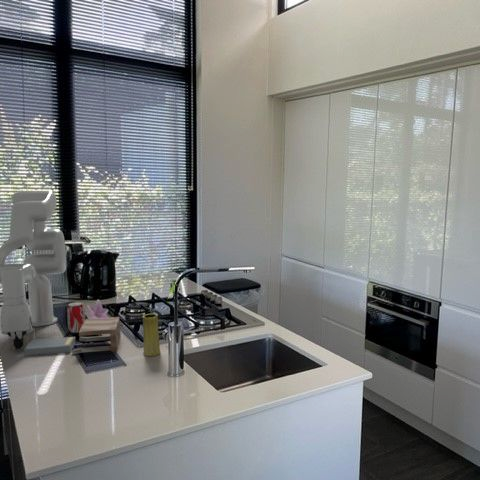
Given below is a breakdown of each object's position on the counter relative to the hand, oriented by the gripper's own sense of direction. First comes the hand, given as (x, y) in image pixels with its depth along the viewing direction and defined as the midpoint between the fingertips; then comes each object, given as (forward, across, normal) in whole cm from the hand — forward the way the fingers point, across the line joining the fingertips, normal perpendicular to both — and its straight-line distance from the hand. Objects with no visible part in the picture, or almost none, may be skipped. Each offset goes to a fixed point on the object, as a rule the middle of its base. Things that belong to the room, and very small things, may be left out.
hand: (18, 348), depth 170 cm
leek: (+2, +59, +76) cm, 96 cm away
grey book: (+1, +12, 0) cm, 12 cm away
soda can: (+2, +17, +20) cm, 27 cm away
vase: (+2, +50, -13) cm, 51 cm away
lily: (+2, +25, +29) cm, 38 cm away
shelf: (+1, +29, 0) cm, 29 cm away
